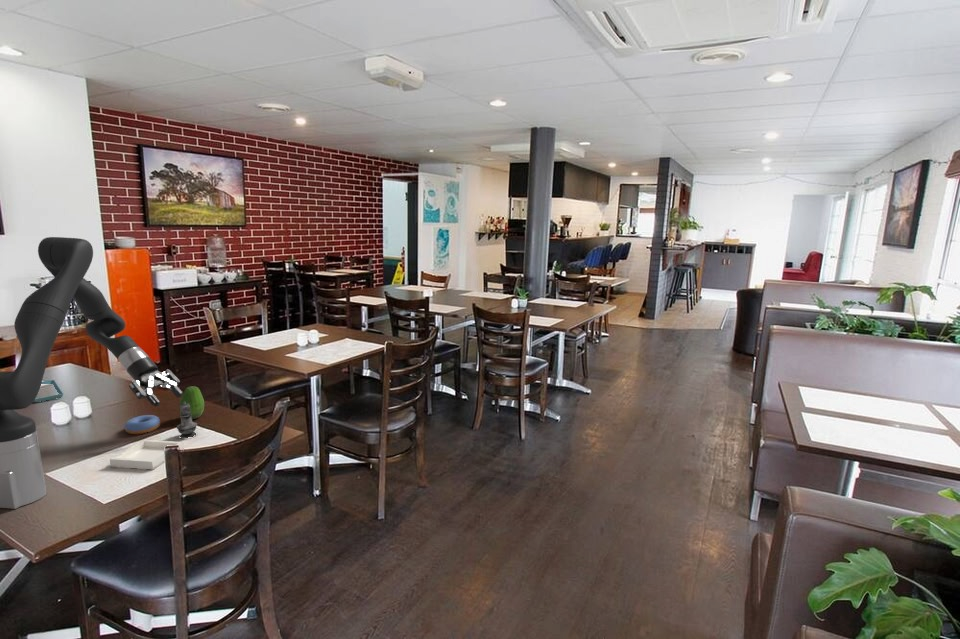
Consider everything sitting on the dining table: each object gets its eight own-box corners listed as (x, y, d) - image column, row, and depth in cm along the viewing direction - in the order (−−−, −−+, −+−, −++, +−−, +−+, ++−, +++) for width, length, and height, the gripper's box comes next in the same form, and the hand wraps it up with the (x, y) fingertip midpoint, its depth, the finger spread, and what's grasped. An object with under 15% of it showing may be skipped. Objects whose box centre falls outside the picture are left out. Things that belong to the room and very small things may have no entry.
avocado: (209, 417, 179) (206, 385, 176) (186, 424, 172) (183, 391, 170) (199, 412, 183) (196, 381, 181) (176, 418, 177) (172, 386, 175)
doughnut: (134, 437, 161) (134, 423, 161) (118, 432, 166) (118, 419, 166) (166, 429, 170) (166, 416, 169) (150, 425, 175) (150, 412, 174)
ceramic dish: (153, 469, 141) (152, 461, 140) (110, 467, 142) (109, 459, 142) (184, 449, 154) (183, 442, 153) (144, 447, 155) (144, 439, 154)
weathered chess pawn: (188, 440, 160) (185, 405, 158) (173, 438, 161) (169, 403, 159) (202, 433, 166) (198, 398, 163) (187, 431, 167) (183, 397, 164)
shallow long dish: (26, 389, 207) (25, 383, 206) (54, 384, 213) (53, 378, 213) (33, 405, 189) (32, 399, 189) (64, 399, 196) (63, 393, 195)
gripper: (122, 362, 156) (155, 401, 155) (162, 351, 169) (192, 386, 168) (111, 377, 158) (144, 415, 157) (151, 365, 171) (181, 399, 171)
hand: (169, 400), depth 163 cm, fingers open, 8 cm apart
